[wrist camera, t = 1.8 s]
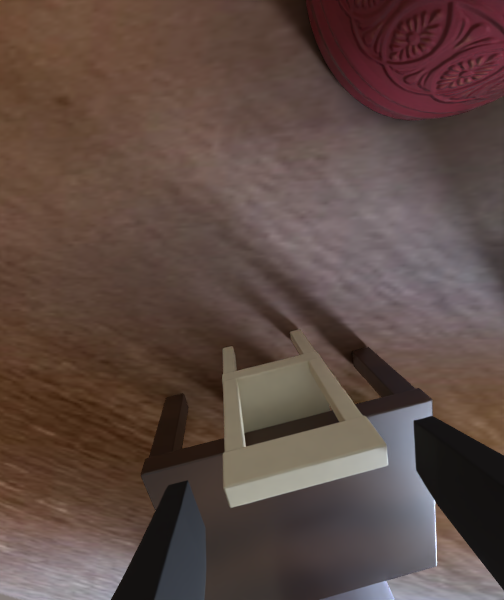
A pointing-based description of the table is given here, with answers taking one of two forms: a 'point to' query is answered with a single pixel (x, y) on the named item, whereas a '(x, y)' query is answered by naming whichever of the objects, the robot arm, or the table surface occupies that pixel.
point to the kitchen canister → (414, 53)
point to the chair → (283, 408)
